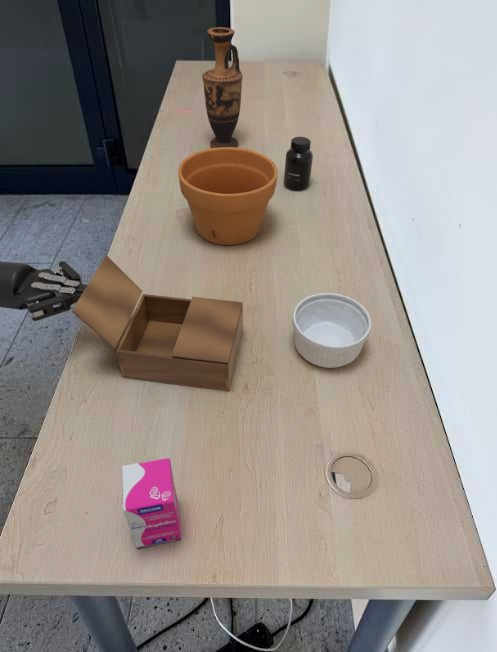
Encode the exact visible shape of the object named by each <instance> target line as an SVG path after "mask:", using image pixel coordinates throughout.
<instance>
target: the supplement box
mask: <svg viewBox="0 0 497 652" xmlns="http://www.w3.org/2000/svg"><path fill="white" fill-rule="evenodd" d="M121 488H122V507H123V513H124V517H125V519H126V522H127V525H128V527H129V530H130V533H131V536H132V539H133V542H134V544H135V548H136V549H142V548H145V547H149V546H155V545H160V544H165V543H171V542H177V541H181V540H182V530H181V519H180V510H179V502H178V496H177V490H176V483H175V477H174V473H173V468H172V462H171V458H168V457H166V458H159V459H153V460H148V461H143V462H142V461H141V462H136V463H131V464H124V465H121Z"/></svg>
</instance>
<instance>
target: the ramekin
mask: <svg viewBox="0 0 497 652" xmlns="http://www.w3.org/2000/svg"><path fill="white" fill-rule="evenodd" d="M291 323H292V327H293V340H294V346H295V348H296V350H297V352H298V353H299V354H300V356H302V358H304V359H305V360H306V361H307V362H308V363H310V364H312V365H315V366H317V367H320V368H326V369H334V368H335V369H336V368H340V367H344V366H347V365H349V364H350V363H352V362H353V361H355V359H356V358H358V356H359V355H360V354H361V351H362V349H363V347H364V345H365V342H366V341H367V340H368V339H369V336H370V333H371V329H372V319H371V316H370V314H369V312H368V311H367V309H366V308H365V307H364V306H363V304H361V303H360V302H358V301H357V300H355V299H354V298H351V297H349V296H346V295H345V294H340V293H335V292H334V293H333V292H321V293H320V292H319V293H314V294H313V295H309V296H307V297H304V298H303V299H302V300H300V301H299V302H298V303H297V305H296V306H295V308H294V309H293V313H292V318H291Z"/></svg>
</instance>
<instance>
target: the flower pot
mask: <svg viewBox="0 0 497 652" xmlns="http://www.w3.org/2000/svg"><path fill="white" fill-rule="evenodd" d="M278 171H279V170H278V167H277V165H276V164H275V162H274V161H273V160H272V159H271V158H269V157H268V156H266V155H264V154H262V153H260V152H258V151H255V150H252V149H248V148H243V147H237V148H236V147H220V148H211V147H210V148H206V149H202V150H198V151H196V152H193V153H192V154H190V155H188V156H187V157H185V158H184V159H183V160H182V161H181V162H180V163H179V165H178V168H177V177H178V183H179V187H180V192H181V195H182V196H183V198H184V199H185V201H186V202H187V204H188V207H189V211H190V213H191V216H192V219H193V222H194V225H195V227H196V231H197V232H198V234H199V235H200V236H201V237H202V238H203V239H204V240H206V241H208V242H210V243H212V244H216V245H222V246H235V245H241V244H245V243H247V242H248V241H251V240H252V239H253V238H255V237H257V235H258V233H259V231H260V228H261V225H262V222H263V221H264V216H265V213H266V210H267V208H268V205H269V202H270V200H272V198H273V196H274V195H275V192H276V187H277V181H278V175H279V172H278Z"/></svg>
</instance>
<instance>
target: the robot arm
mask: <svg viewBox="0 0 497 652" xmlns="http://www.w3.org/2000/svg"><path fill="white" fill-rule="evenodd" d="M87 285H88V284H84V283H83V280H82V277H81V275H80V274H79V273H78V272H77V271H76V270H75V269H74V268H73V267H72V266H71V265H69V264H68V262H67V261H64V260H62V261H59V262H58V267H56V268H54V269H50V268H43V269H37V268H35V267H33V266H32V265H30V264H27V263H20V262H10V261H0V308H4V309H12V310H20V311H21V310H22V311H23V310H28V313H29V316H30V318H31V320H32V321H33V322H38V321H40V320H41V321H42V320H44V319H47V318H50V317H53V316H56V315H59V314H62V313H65V312H69V311H70V310H71V309H72V306H73V305H76V303H77V302H78V300H79V298H80V297H81V295H82V293H83V292H84V290H85V288H86V287H87ZM54 306H55V307H54Z"/></svg>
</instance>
